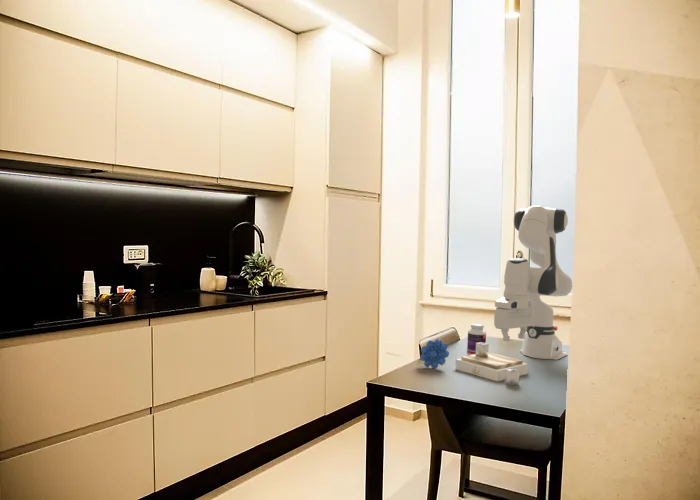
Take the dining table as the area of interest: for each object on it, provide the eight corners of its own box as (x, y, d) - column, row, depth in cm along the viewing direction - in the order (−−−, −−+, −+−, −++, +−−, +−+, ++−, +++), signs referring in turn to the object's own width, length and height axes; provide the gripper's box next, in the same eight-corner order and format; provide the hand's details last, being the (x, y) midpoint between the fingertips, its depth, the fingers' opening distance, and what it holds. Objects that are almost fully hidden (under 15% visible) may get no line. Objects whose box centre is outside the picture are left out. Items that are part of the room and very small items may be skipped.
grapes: (449, 367, 210) (451, 338, 210) (447, 371, 204) (448, 341, 204) (421, 364, 214) (423, 335, 214) (418, 367, 208) (419, 338, 207)
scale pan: (487, 354, 218) (487, 351, 218) (522, 363, 205) (522, 360, 205) (461, 359, 208) (461, 356, 208) (496, 369, 194) (496, 366, 194)
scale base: (486, 362, 220) (486, 353, 220) (527, 373, 205) (528, 363, 205) (454, 369, 208) (455, 359, 208) (496, 381, 192) (496, 371, 192)
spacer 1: (480, 354, 214) (481, 341, 214) (490, 356, 210) (491, 344, 210) (472, 355, 211) (473, 343, 210) (482, 358, 207) (483, 345, 207)
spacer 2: (510, 381, 193) (510, 368, 193) (521, 384, 189) (522, 371, 189) (502, 383, 190) (502, 369, 190) (513, 386, 186) (514, 373, 186)
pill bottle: (485, 359, 227) (487, 326, 227) (467, 357, 229) (468, 325, 228) (484, 355, 235) (486, 323, 235) (466, 353, 237) (468, 322, 236)
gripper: (524, 300, 198) (522, 335, 198) (491, 302, 185) (489, 340, 185) (539, 302, 193) (537, 338, 193) (506, 304, 180) (504, 343, 180)
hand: (513, 339), depth 189 cm, fingers open, 8 cm apart
